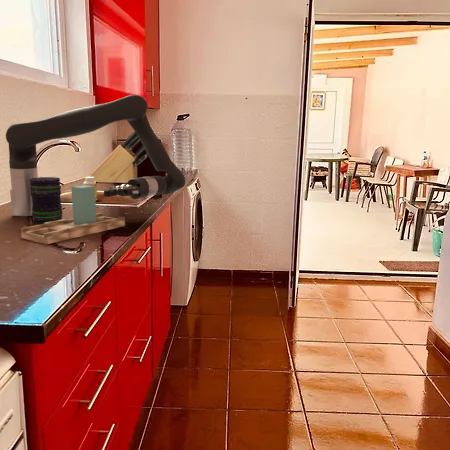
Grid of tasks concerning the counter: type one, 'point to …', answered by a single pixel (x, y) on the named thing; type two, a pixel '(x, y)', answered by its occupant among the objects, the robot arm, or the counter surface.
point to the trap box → (69, 229)
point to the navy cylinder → (46, 199)
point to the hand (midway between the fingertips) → (105, 193)
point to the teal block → (84, 204)
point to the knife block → (121, 162)
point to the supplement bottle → (91, 184)
